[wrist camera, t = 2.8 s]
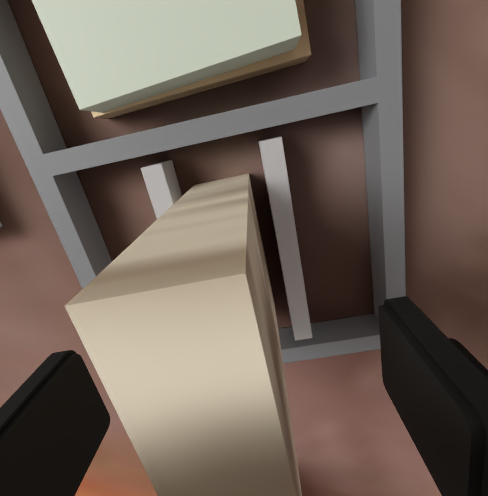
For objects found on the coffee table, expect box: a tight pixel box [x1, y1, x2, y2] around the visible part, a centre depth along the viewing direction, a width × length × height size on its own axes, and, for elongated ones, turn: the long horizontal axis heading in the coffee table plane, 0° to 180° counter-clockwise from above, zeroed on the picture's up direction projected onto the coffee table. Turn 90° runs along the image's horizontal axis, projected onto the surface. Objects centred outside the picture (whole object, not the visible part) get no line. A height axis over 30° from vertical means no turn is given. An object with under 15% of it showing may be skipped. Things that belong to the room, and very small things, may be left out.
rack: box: [0, 0, 406, 363], centre depth 15 cm, size 22×17×2 cm
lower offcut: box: [91, 0, 311, 119], centre depth 13 cm, size 5×10×2 cm, turn 104°
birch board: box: [65, 173, 302, 496], centre depth 12 cm, size 8×3×12 cm, turn 12°
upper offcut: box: [32, 0, 301, 113], centre depth 11 cm, size 4×9×2 cm, turn 106°
